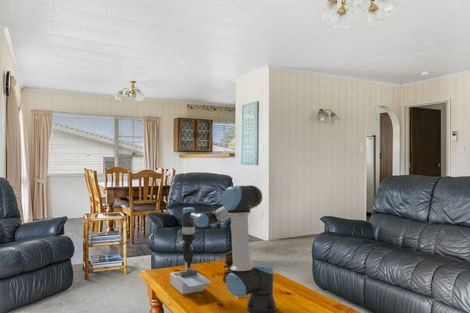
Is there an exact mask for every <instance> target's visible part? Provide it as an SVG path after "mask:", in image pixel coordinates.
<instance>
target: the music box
mask: <svg viewBox="0 0 470 313" xmlns="http://www.w3.org/2000/svg"><path fill="white" fill-rule="evenodd" d="M221 256H222V257H225V259H224V264H225V265H224V266H223V268H224V271H223V275H222V282H223V283H225V284H226V277H227V275H228V274H230V267H231V266H232V265H233V254H232V249H231V250H230V251H227V252H226V253H225V254H222V255H221ZM227 268H228V269H227Z"/></svg>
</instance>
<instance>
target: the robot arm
mask: <svg viewBox="0 0 470 313" xmlns="http://www.w3.org/2000/svg"><path fill="white" fill-rule="evenodd" d="M221 201H222V206H221V207H218V208H217V209H216V210H213V211H205V212H196V208H195V207H190V206H189V207H183V209H182V214H181V216H182V220H181V221H182V222H181V223H182V228H181V232H182V234H181V240H183V242H182V254H183V260H184V262H185V265H184V266H185V268H184V269H185V270H184V271H186V270H191V262H193V257H194V250H195V246H193V241H194V240H195V238H196V237H195V235H196V234H195V232H196V227H199V228H204V227H206V226H209V225H215V224H218V225H220V224H222V223H225V221H226V220H227V219H229V218H230V227H231V228H230V229H231V248H232V249H231V250H232V257H233V265H232V266H230V274H228V275H227V277H226V283H225V285H226V288H227V291H228V292H229V293H230V295H232V296H234V298H240V297H245V296H247V295H249V297H248V301H247V304H246V309H247V311H248V312H250V313H276V310H277V304H276V301H275V297H274V268H273V267H272V265H269V264H267V263H261V262H254V263H251V259H250V258H251V256H250V241H249V240H250V236H249V234H250V233H249V215H250V214H251V210H252V209H255V208H257V207H258V206H260V205H261V203H262V201H263V193H262V191H261V189H260V188H259V187H257V186H255V185H235V186H233V185H232V186H229V187H227V188H226V189H225V190H224V192H223V194H222V197H221Z"/></svg>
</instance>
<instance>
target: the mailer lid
mask: <svg viewBox="0 0 470 313" xmlns="http://www.w3.org/2000/svg"><path fill="white" fill-rule="evenodd" d="M179 272H180V276H176V277H177V278H178V279H179V280H180V281H182V282H183V283H184V284H186V285H187V286H188V287H190V288H192V287H197V286H202V285H205V286H207V285H211V284H213V282H212V281H211V280H209V279H208V278H206V277H205V276H203V275H202V274H201V273H199V272H198V269H196V268H194V269H190V270H186V271H185V270H182V271H179Z"/></svg>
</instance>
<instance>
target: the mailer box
mask: <svg viewBox="0 0 470 313" xmlns="http://www.w3.org/2000/svg"><path fill="white" fill-rule="evenodd" d="M176 276H180V271H175V272H170V273H169V285H170V286H171V285H172V286H173V287H172V286H171V287H172V288H174V289H175V290H176V291H177V292H178V293H180V294H181V295H182V296H185V295H188V294H189V295H190V294H194V293H200V292H205V288H206V285H202V286H197V287H192V288H190V287H188V286H187V285H186V284H184V283H183V282H182V281H180V280H179V279H178V278H177V277H176Z"/></svg>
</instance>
